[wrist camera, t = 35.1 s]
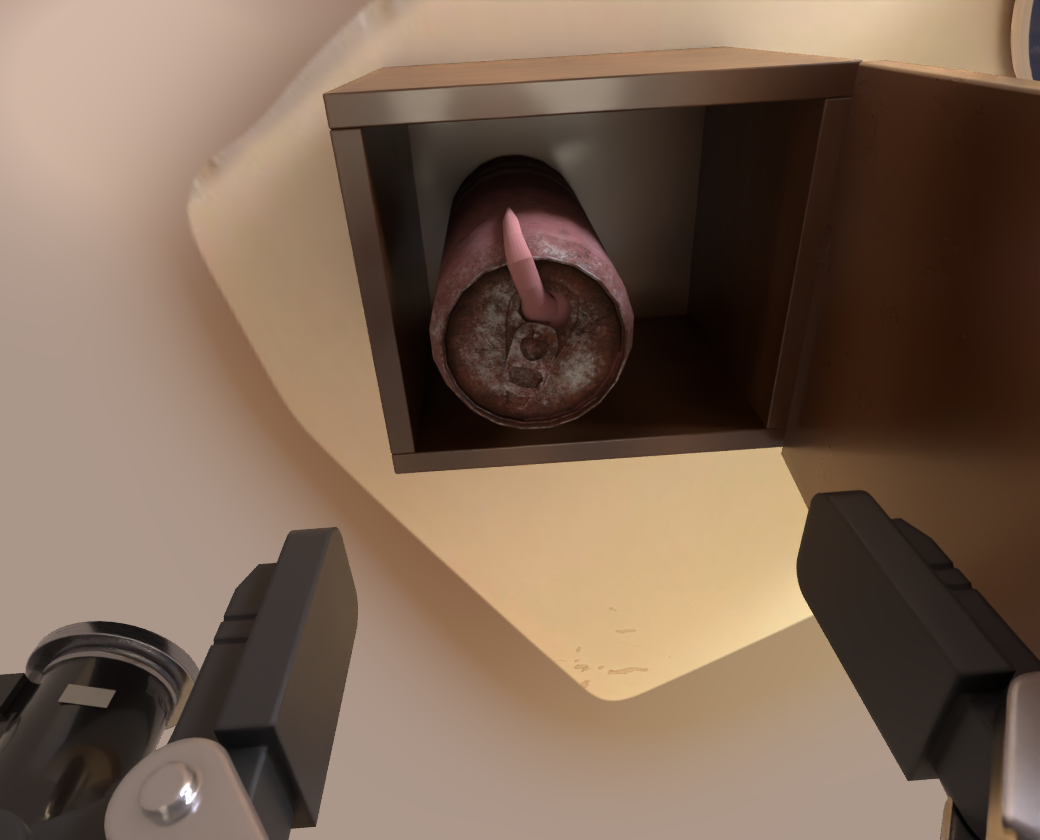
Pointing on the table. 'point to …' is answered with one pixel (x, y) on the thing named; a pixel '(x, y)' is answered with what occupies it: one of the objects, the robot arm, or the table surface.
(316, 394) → the table surface
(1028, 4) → the supplement tub
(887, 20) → the table surface
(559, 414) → the can
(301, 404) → the table surface
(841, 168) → the lid
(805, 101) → the chest
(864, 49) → the table surface
